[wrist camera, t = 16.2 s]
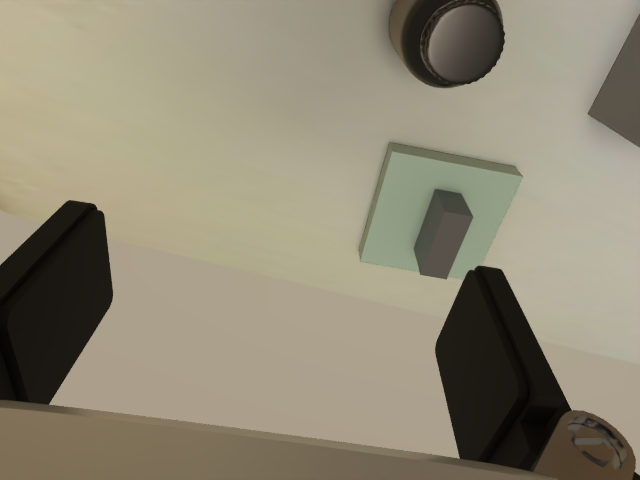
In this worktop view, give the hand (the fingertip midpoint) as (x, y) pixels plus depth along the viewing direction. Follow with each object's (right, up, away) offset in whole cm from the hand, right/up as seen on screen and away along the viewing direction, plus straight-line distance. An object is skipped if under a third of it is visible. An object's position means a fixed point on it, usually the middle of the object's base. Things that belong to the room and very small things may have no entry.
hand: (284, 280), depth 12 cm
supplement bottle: (+10, +19, +26) cm, 34 cm away
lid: (+13, +4, +35) cm, 38 cm away
